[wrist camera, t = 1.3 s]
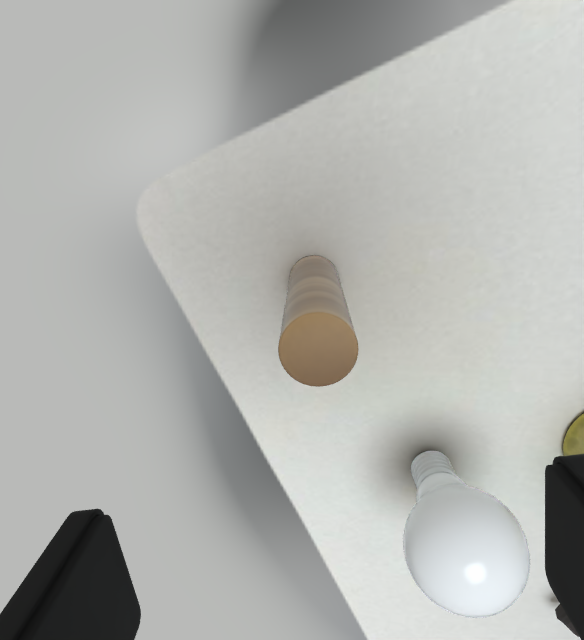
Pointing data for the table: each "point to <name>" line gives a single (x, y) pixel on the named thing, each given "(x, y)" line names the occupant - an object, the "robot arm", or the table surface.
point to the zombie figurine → (565, 619)
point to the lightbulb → (462, 543)
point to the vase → (575, 438)
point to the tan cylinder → (316, 325)
